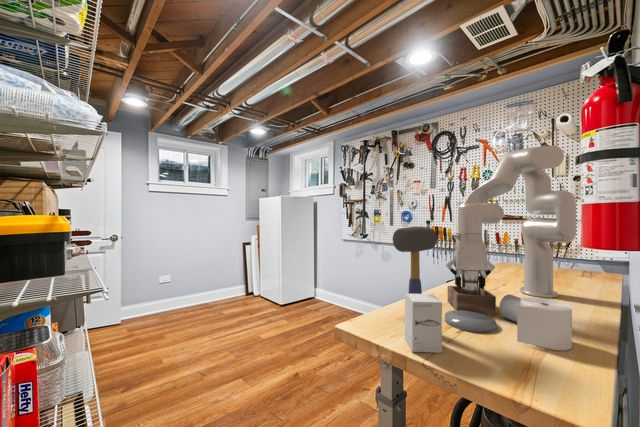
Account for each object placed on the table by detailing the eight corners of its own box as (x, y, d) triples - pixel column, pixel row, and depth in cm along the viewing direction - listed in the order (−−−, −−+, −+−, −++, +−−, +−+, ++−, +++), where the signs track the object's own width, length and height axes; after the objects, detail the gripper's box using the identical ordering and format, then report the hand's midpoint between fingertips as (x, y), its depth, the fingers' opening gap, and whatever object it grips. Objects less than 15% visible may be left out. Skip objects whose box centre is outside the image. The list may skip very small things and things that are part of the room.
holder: (447, 301, 106) (447, 285, 106) (481, 303, 104) (481, 287, 104) (457, 312, 95) (457, 294, 94) (495, 314, 92) (495, 296, 92)
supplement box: (411, 353, 67) (411, 301, 67) (404, 339, 75) (404, 292, 75) (442, 354, 67) (442, 301, 67) (432, 340, 74) (432, 292, 74)
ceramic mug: (524, 329, 81) (525, 302, 81) (498, 319, 89) (498, 295, 89) (548, 324, 84) (549, 299, 84) (521, 315, 92) (521, 292, 92)
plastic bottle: (463, 310, 96) (463, 253, 96) (457, 304, 103) (457, 250, 103) (483, 311, 95) (483, 253, 95) (475, 304, 102) (475, 250, 102)
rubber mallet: (409, 336, 76) (409, 227, 76) (390, 326, 83) (390, 226, 83) (439, 327, 82) (439, 226, 82) (419, 318, 89) (419, 225, 89)
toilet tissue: (574, 341, 73) (574, 303, 73) (568, 357, 65) (568, 315, 65) (525, 329, 81) (525, 295, 81) (514, 342, 73) (514, 304, 73)
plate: (440, 313, 94) (439, 309, 94) (485, 316, 91) (485, 311, 91) (451, 330, 80) (451, 325, 80) (505, 334, 77) (505, 329, 77)
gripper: (446, 238, 97) (447, 289, 97) (501, 239, 94) (501, 291, 94) (441, 236, 105) (441, 284, 105) (491, 237, 101) (492, 286, 101)
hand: (469, 287), depth 99 cm, fingers open, 6 cm apart
